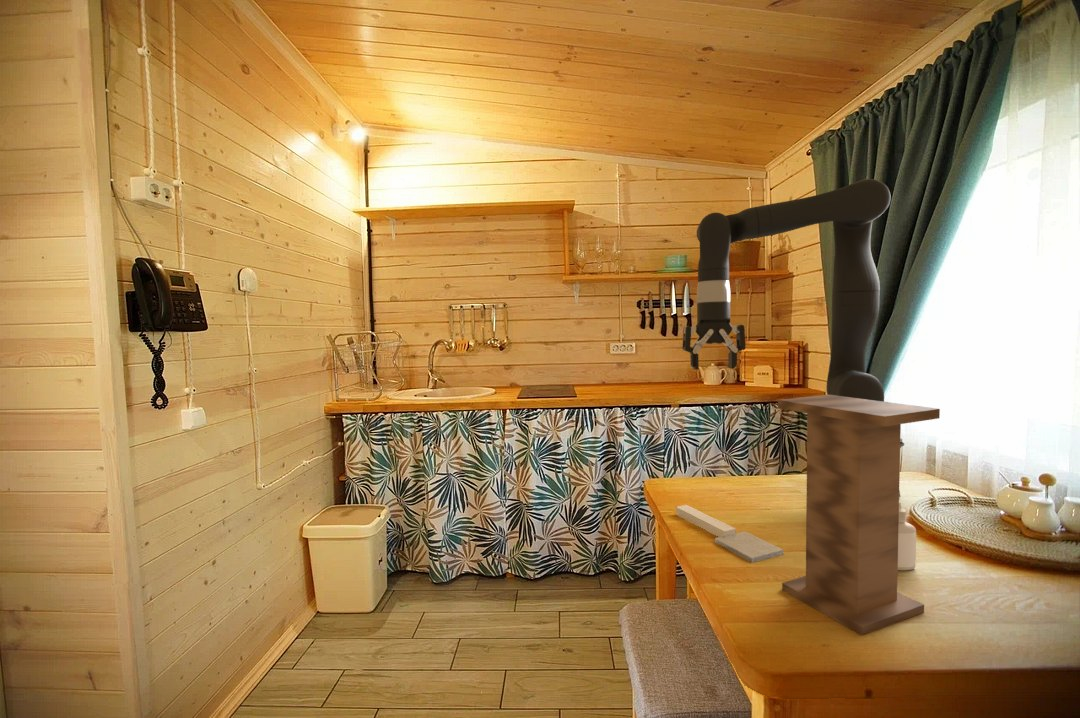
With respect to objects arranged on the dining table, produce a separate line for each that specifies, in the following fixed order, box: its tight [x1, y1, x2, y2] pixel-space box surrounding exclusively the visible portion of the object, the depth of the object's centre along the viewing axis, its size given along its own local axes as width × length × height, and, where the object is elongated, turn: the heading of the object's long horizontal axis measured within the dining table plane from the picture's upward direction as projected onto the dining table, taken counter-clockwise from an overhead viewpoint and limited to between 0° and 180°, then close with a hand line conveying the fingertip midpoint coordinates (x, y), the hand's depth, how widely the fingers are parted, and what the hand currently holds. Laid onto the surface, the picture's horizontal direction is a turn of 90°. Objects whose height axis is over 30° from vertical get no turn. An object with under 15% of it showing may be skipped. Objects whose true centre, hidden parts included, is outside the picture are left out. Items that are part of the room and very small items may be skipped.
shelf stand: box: [777, 394, 941, 636], centre depth 82 cm, size 18×14×32 cm
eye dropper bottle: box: [898, 501, 917, 571], centre depth 93 cm, size 4×6×12 cm
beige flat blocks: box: [675, 504, 784, 563], centre depth 110 cm, size 26×8×2 cm, turn 23°
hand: (713, 368), depth 123 cm, fingers open, 8 cm apart
